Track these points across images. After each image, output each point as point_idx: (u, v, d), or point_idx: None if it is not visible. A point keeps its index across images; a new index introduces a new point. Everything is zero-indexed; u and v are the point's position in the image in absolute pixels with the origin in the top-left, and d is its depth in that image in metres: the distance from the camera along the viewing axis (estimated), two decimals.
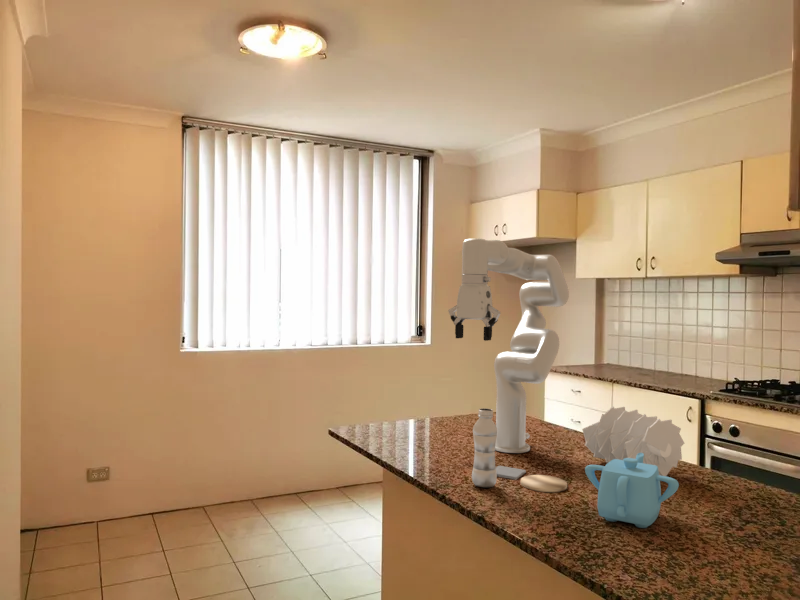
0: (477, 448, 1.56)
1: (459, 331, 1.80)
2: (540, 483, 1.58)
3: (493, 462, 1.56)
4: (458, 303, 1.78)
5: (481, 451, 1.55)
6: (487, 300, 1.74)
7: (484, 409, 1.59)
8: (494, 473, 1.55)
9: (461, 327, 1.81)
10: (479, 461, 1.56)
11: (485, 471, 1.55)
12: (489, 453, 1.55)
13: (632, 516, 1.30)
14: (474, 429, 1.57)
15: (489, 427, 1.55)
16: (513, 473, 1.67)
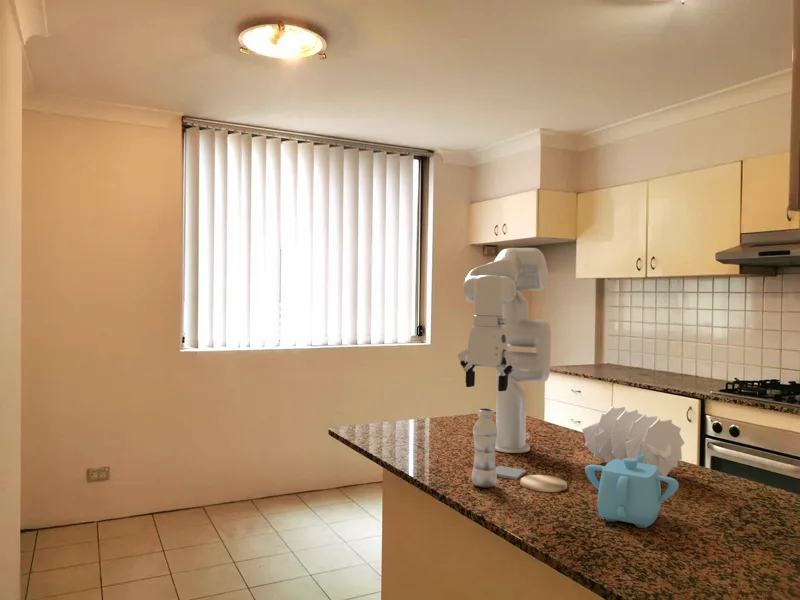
0: (477, 448, 1.56)
1: (470, 379, 1.59)
2: (540, 483, 1.58)
3: (493, 462, 1.56)
4: (469, 347, 1.58)
5: (481, 451, 1.55)
6: (502, 345, 1.53)
7: (484, 409, 1.59)
8: (494, 473, 1.55)
9: (472, 374, 1.60)
10: (479, 461, 1.56)
11: (485, 471, 1.55)
12: (489, 453, 1.55)
13: (632, 516, 1.30)
14: (474, 429, 1.57)
15: (489, 427, 1.55)
16: (513, 473, 1.67)
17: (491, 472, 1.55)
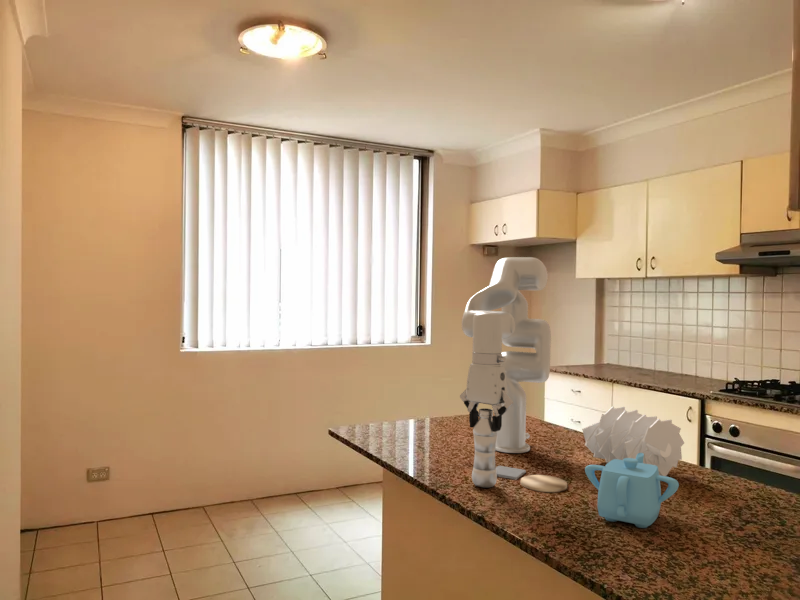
0: (477, 448, 1.56)
1: (474, 419, 1.59)
2: (540, 483, 1.58)
3: (493, 462, 1.55)
4: (468, 384, 1.58)
5: (481, 451, 1.55)
6: (501, 383, 1.54)
7: (484, 409, 1.59)
8: (494, 473, 1.55)
9: (476, 414, 1.60)
10: (479, 461, 1.56)
11: (485, 471, 1.55)
12: (489, 453, 1.55)
13: (632, 516, 1.30)
14: (474, 429, 1.56)
15: (490, 427, 1.55)
16: (513, 473, 1.67)
17: (491, 472, 1.55)
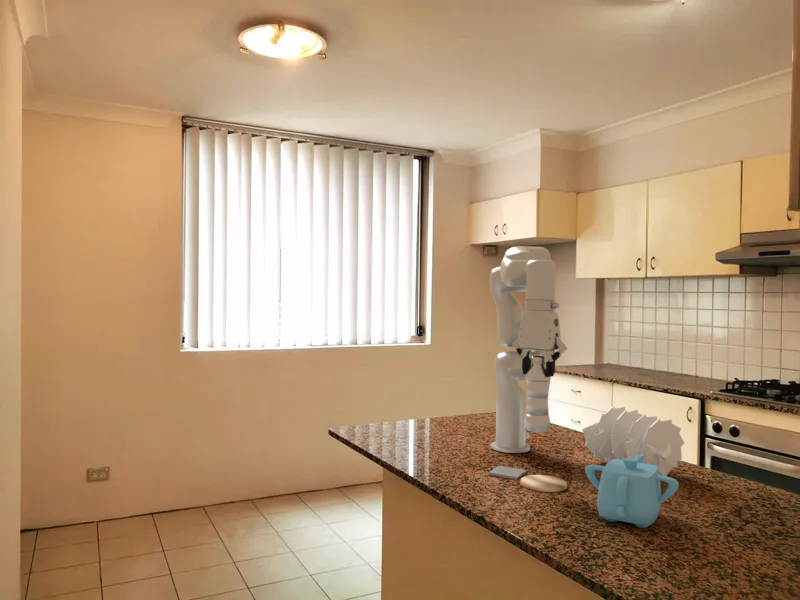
0: (530, 394, 1.58)
1: (527, 366, 1.61)
2: (540, 483, 1.58)
3: (546, 407, 1.57)
4: (521, 331, 1.60)
5: (535, 397, 1.57)
6: (555, 329, 1.55)
7: (537, 356, 1.61)
8: (548, 418, 1.57)
9: (529, 361, 1.62)
10: (532, 406, 1.58)
11: (539, 416, 1.57)
12: (543, 398, 1.57)
13: (632, 516, 1.30)
14: (527, 375, 1.58)
15: (543, 372, 1.57)
16: (513, 473, 1.67)
17: (545, 417, 1.57)
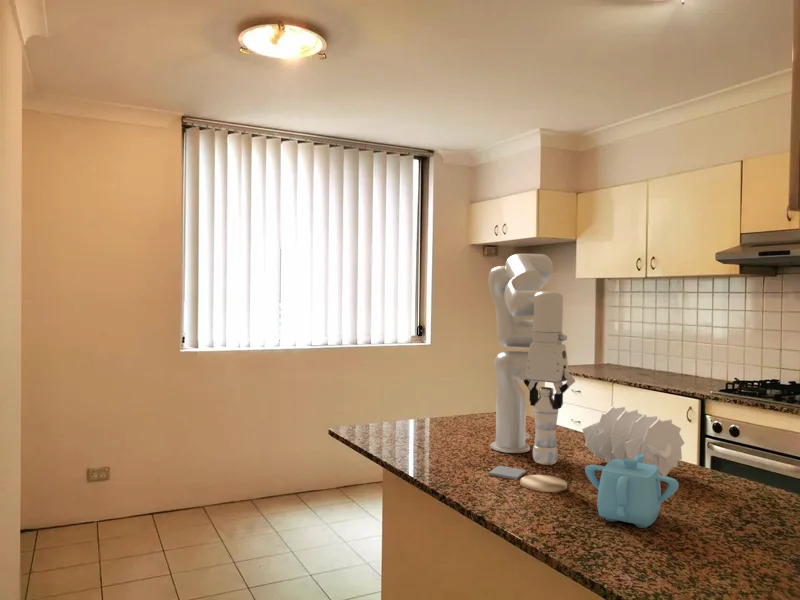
0: (538, 426, 1.58)
1: (534, 397, 1.61)
2: (540, 483, 1.58)
3: (554, 439, 1.58)
4: (529, 363, 1.60)
5: (543, 429, 1.57)
6: (563, 361, 1.56)
7: (544, 388, 1.61)
8: (556, 450, 1.57)
9: (536, 393, 1.62)
10: (541, 438, 1.58)
11: (547, 448, 1.57)
12: (551, 430, 1.57)
13: (632, 516, 1.30)
14: (535, 407, 1.59)
15: (551, 404, 1.57)
16: (513, 473, 1.67)
17: (553, 449, 1.57)
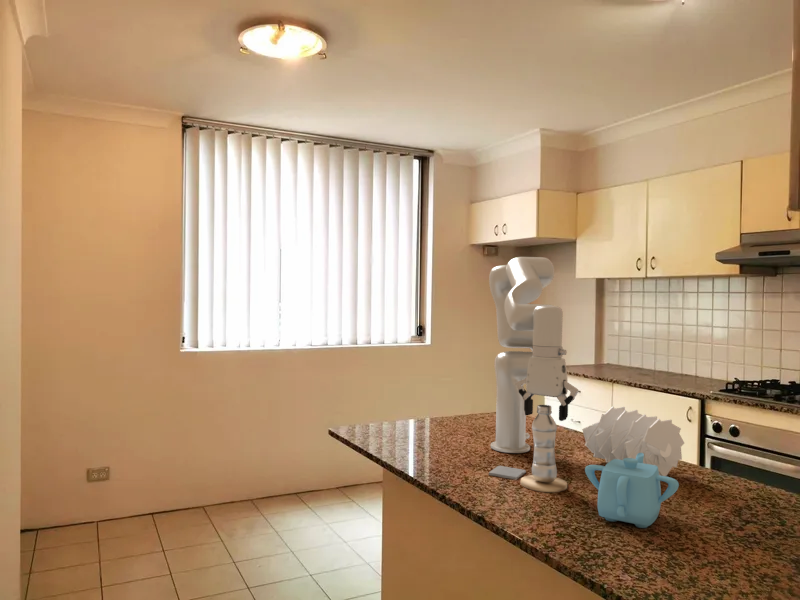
0: (537, 444, 1.59)
1: (529, 407, 1.62)
2: (540, 483, 1.58)
3: (553, 457, 1.58)
4: (528, 377, 1.60)
5: (541, 447, 1.58)
6: (563, 375, 1.56)
7: (542, 405, 1.61)
8: (555, 468, 1.58)
9: (531, 402, 1.63)
10: (539, 456, 1.58)
11: (546, 466, 1.57)
12: (550, 448, 1.58)
13: (632, 516, 1.30)
14: (534, 425, 1.59)
15: (549, 422, 1.57)
16: (513, 473, 1.67)
17: (552, 467, 1.57)
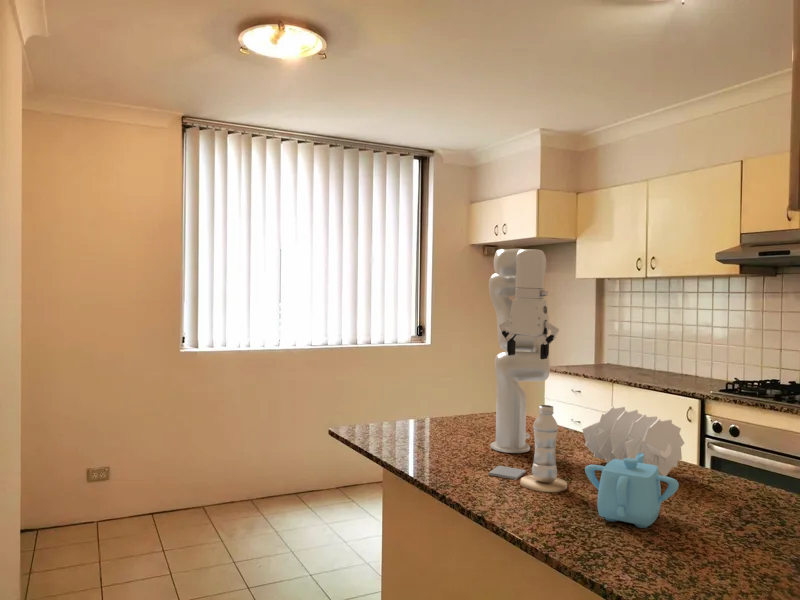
0: (538, 444, 1.59)
1: (511, 348, 1.68)
2: (540, 483, 1.58)
3: (553, 457, 1.58)
4: (511, 318, 1.66)
5: (542, 447, 1.58)
6: (544, 316, 1.62)
7: (544, 405, 1.61)
8: (555, 468, 1.58)
9: (513, 343, 1.69)
10: (540, 456, 1.58)
11: (546, 466, 1.57)
12: (550, 448, 1.58)
13: (632, 516, 1.30)
14: (535, 425, 1.59)
15: (551, 423, 1.57)
16: (513, 473, 1.67)
17: (552, 467, 1.57)
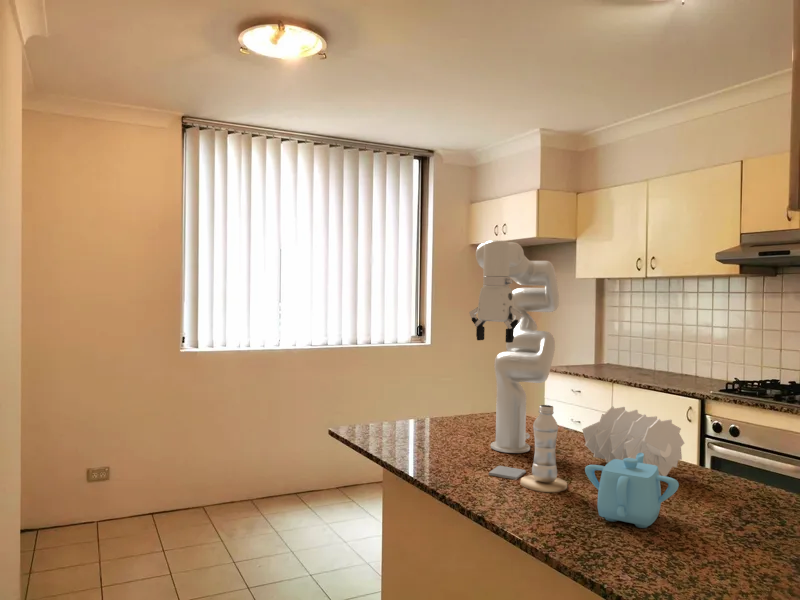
0: (538, 444, 1.59)
1: (480, 333, 1.80)
2: (540, 483, 1.58)
3: (553, 457, 1.58)
4: (479, 305, 1.78)
5: (542, 447, 1.58)
6: (509, 302, 1.74)
7: (544, 405, 1.62)
8: (555, 468, 1.58)
9: (482, 329, 1.81)
10: (540, 456, 1.58)
11: (546, 466, 1.57)
12: (550, 448, 1.58)
13: (632, 516, 1.30)
14: (535, 425, 1.59)
15: (551, 423, 1.58)
16: (513, 473, 1.67)
17: (552, 467, 1.57)
